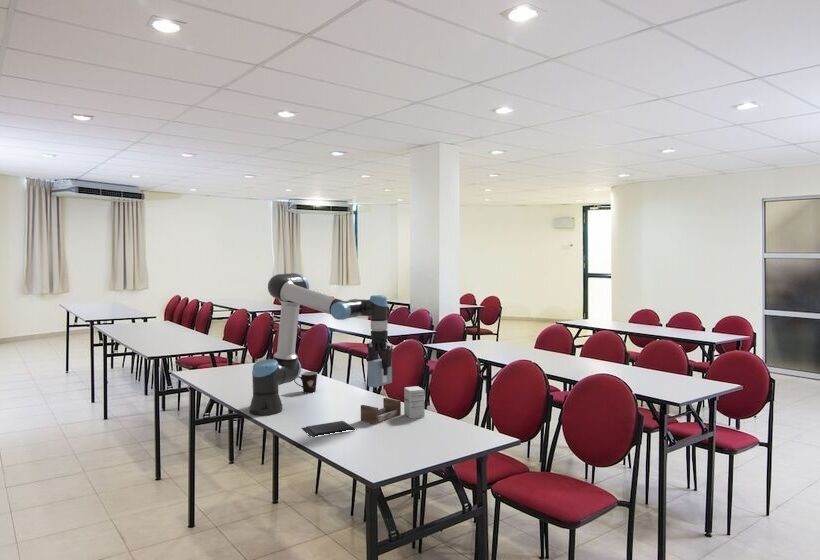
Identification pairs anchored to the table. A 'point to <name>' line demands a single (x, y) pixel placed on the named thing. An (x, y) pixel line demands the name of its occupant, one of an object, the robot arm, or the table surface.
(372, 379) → the blue-grey rectangular block
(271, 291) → the robot arm
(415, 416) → the supplement box
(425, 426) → the table surface
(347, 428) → the wallet
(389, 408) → the track frame
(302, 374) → the coffee mug
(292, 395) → the table surface
